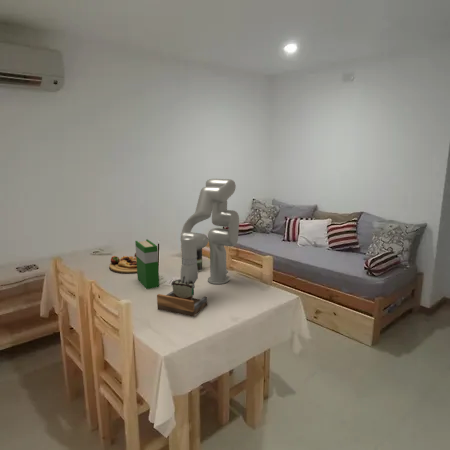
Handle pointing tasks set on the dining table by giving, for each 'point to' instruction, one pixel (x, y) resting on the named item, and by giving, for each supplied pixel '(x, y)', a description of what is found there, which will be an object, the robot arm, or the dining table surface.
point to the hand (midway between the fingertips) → (190, 295)
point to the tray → (180, 304)
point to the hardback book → (147, 264)
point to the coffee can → (199, 259)
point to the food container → (183, 289)
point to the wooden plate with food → (124, 264)
